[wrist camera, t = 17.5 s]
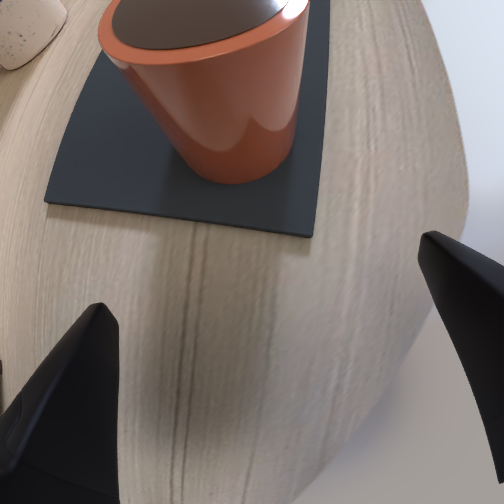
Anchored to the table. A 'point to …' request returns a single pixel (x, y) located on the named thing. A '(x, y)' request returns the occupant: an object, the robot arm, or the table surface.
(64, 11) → the teacup with lid
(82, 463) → the robot arm
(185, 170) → the desk mat
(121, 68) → the cup
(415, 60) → the table surface
